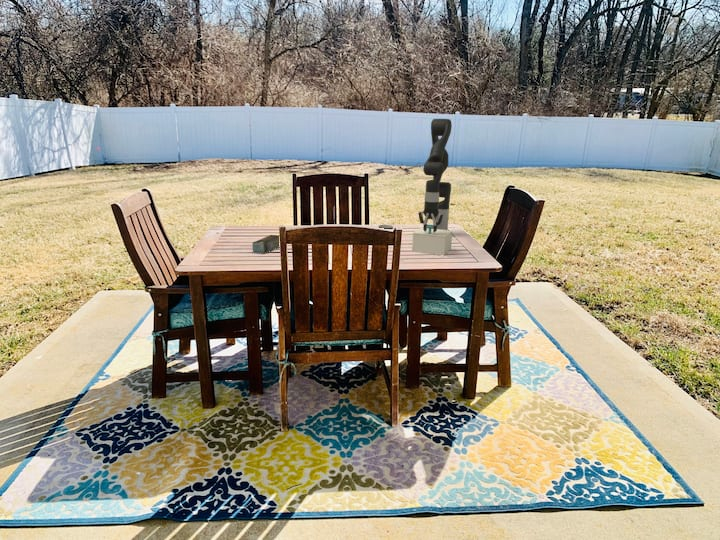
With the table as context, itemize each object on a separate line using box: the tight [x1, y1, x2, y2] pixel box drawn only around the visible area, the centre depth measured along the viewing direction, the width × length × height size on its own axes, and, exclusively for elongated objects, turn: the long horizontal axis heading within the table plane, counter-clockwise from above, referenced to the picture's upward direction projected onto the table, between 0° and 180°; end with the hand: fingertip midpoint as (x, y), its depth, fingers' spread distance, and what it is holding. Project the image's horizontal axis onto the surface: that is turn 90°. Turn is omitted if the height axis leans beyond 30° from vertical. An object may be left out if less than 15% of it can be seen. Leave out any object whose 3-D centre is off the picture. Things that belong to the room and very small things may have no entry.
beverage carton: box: [251, 234, 280, 255], centre depth 276 cm, size 8×19×7 cm, turn 157°
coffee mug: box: [377, 224, 394, 230], centre depth 292 cm, size 12×9×10 cm
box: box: [411, 231, 453, 256], centre depth 279 cm, size 15×18×10 cm
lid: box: [412, 224, 453, 237], centre depth 277 cm, size 15×18×6 cm
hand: (429, 231), depth 272 cm, fingers closed on lid, 4 cm apart
